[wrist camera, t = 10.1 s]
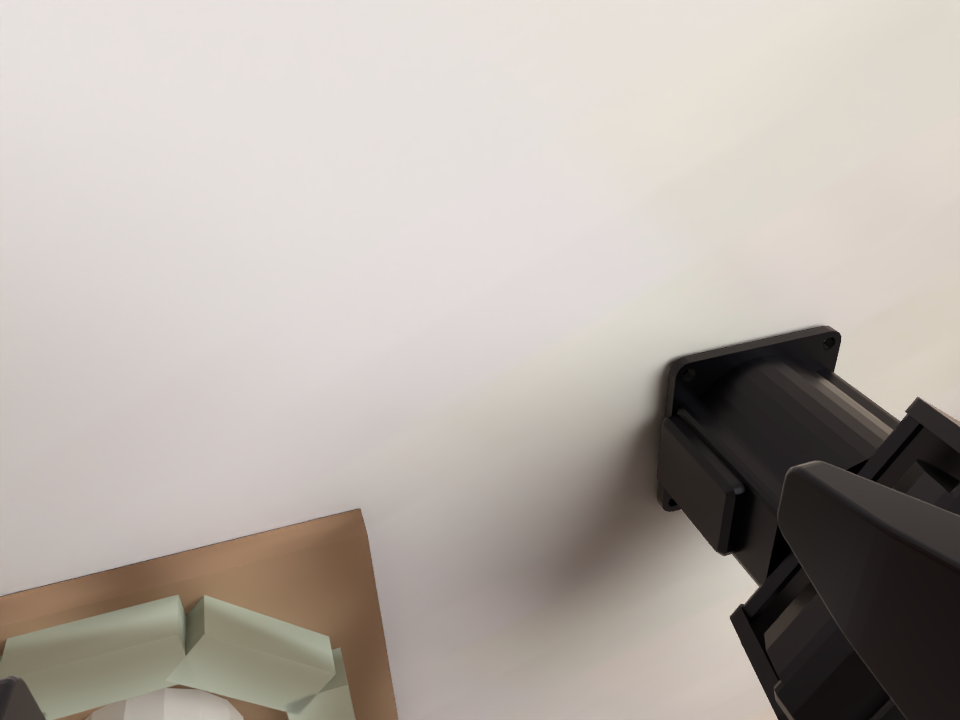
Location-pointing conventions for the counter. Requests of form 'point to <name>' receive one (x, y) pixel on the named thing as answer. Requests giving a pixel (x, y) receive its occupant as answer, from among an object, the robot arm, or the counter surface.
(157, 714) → the white cylinder
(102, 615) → the gear board
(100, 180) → the counter surface
